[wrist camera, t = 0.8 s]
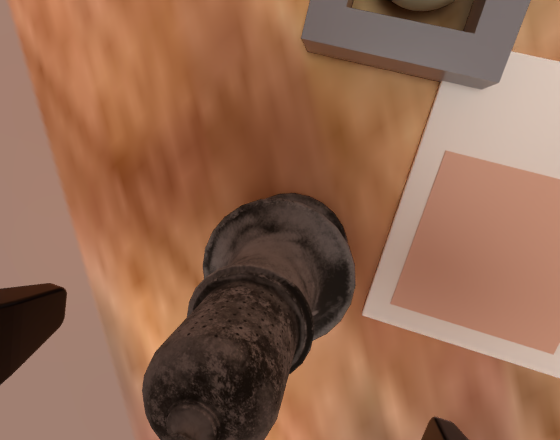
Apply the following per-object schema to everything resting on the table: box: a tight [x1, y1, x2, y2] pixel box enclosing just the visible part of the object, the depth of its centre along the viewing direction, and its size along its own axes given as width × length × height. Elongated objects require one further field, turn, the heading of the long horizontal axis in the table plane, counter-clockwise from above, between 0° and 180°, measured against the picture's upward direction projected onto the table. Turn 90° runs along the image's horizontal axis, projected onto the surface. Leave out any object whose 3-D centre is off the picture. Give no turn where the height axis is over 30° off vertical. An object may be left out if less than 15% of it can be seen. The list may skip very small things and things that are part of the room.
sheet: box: [362, 51, 560, 378], centre depth 15 cm, size 12×12×1 cm
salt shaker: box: [142, 193, 355, 440], centre depth 11 cm, size 6×6×12 cm
